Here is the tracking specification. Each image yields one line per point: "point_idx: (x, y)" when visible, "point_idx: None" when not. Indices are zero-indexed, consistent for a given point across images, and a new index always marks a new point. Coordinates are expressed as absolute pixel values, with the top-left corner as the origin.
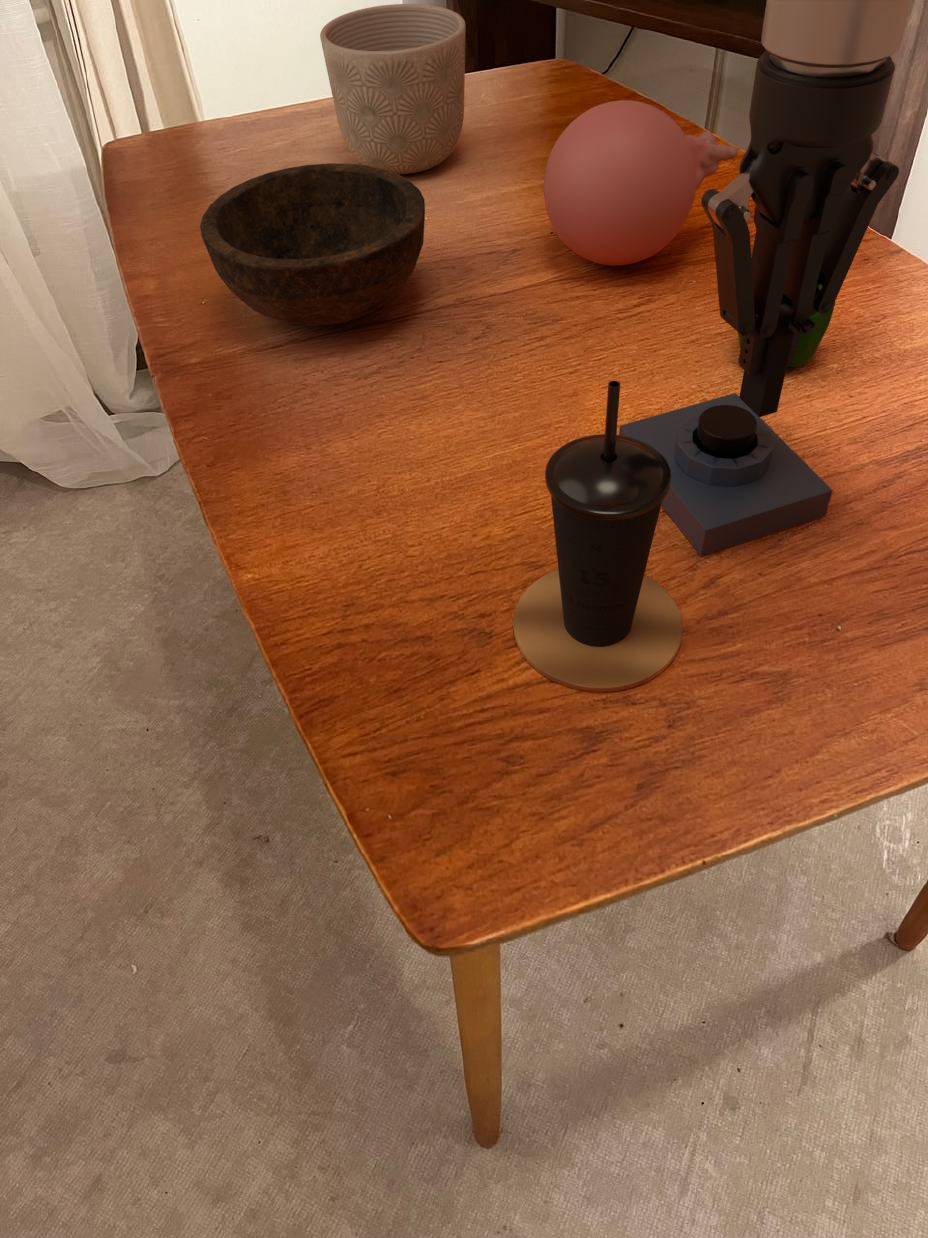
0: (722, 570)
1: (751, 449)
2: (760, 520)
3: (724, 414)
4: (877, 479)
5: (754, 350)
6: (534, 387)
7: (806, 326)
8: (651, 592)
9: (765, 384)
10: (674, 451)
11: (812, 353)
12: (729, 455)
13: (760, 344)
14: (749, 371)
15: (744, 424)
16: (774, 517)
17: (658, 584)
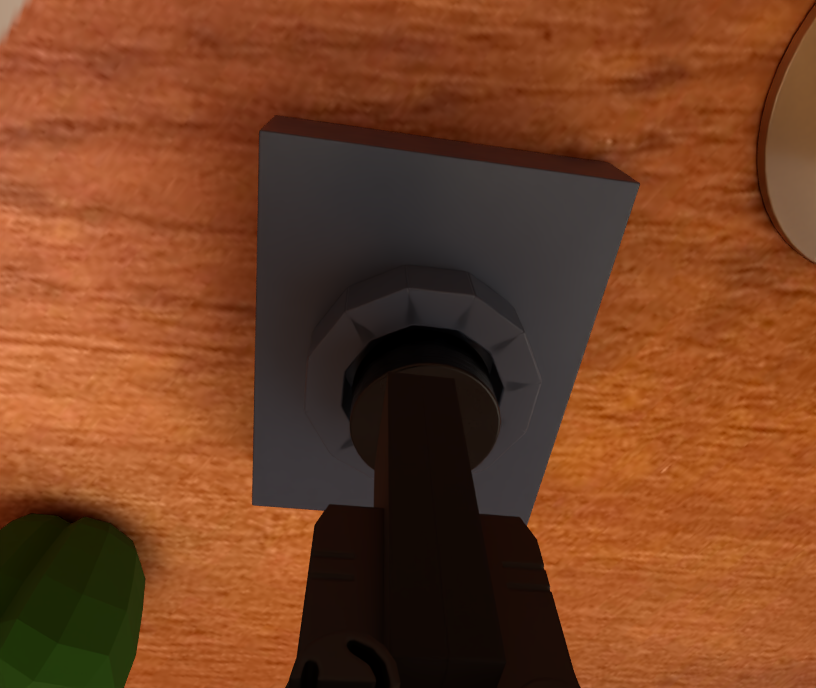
0: (605, 97)
1: (386, 339)
2: (477, 154)
3: None
4: (70, 155)
5: (550, 621)
6: None
7: (359, 680)
8: (800, 117)
9: (468, 464)
10: None
11: (6, 530)
12: (461, 343)
13: (530, 643)
14: (531, 535)
15: None
16: (434, 147)
17: (768, 130)
